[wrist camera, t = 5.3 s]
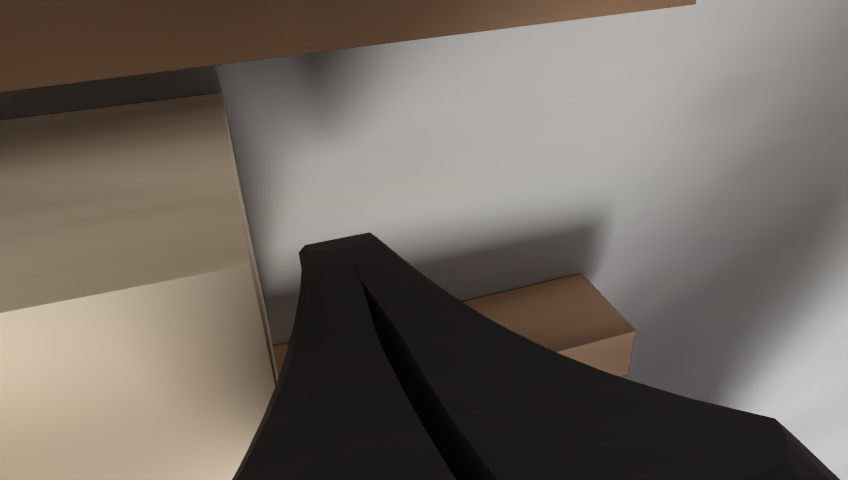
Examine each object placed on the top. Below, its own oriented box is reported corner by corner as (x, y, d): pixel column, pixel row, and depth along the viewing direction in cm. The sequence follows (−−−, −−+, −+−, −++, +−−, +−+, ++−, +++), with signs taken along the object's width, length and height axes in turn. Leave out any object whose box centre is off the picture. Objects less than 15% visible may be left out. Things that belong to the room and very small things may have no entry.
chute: (576, 317, 18) (644, 397, 15) (27, 456, 14) (-6, 589, 12) (625, -103, 12) (744, -90, 10) (-251, -36, 9) (-430, 12, 6)
